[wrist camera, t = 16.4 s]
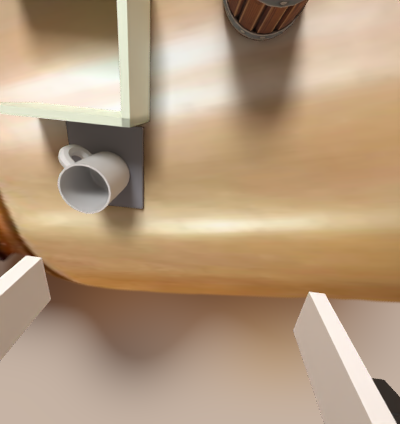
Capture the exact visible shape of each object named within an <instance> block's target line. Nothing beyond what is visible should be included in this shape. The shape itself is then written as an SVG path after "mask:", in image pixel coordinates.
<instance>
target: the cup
mask: <svg viewBox="0 0 400 424" xmlns="http://www.w3.org/2000/svg"><path fill="white" fill-rule="evenodd" d="M74 155H75V156H79V157H80V158H82V160H80V161H78V162H75V161H74V160H73V159H72V158H71V156H74ZM58 159H59V162H60V163H61V165H62V166H63V167H64V169H63V170H62V172H61V173H60V175H59V178H58V188H59V192H60V194H61V196H62V198H63V199H64V201H65V202H66V203H67V204H68V205H69V206H71V207H72V208H73V209H75V210H77V211H79V212H83V213H97V212H100V211H101V210H103V209H105V207H106V206H107V205H108V204H109V203H110V202H111V201H112V200H113V199H114V198H115V197H116V196H117V195H118V194H119V193H120V192H121V191H122V190H123V189H124V188H125V187H126V186H127V184H128V182H129V177H130V174H129V169H128V166H127V164H126V163H125V161H124V160H123V159H122V158H121V157H120V156H118V155H116V154H115V153H112V152H108V151H102V152H99V153H96V154H93V155H92V154H91V153H90V152H89V151H88V150H86V149H85V148H83V147H81V146H79V145H75V144H74V145H67V146H64V147H62V148H61V149H60V151H59V155H58Z"/></svg>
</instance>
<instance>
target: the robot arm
mask: <svg viewBox="0 0 400 424" xmlns="http://www.w3.org/2000/svg"><path fill="white" fill-rule="evenodd" d="M50 300H51V297H50V293H49V288H48V284H47V279H46V275H45V270H44V266H43V261H42V258H39V257H31V256H26V257H24V258H23V259H22V260H21V261H20V262H18V263H17V264H16V265H15V266H14V267H12V268H11V269H10V270H9V271H8V272H6V273H5V274H4V275H3V276H2V277H0V361H1V360H2V358H3V357H4V356H5V355H6V353H7V352H8V351H9V350H10V349H11V347H12V346H13V345H14V343H15V342H16V341H17V340H18V339H19V337H20V336H21V335H22V334H23V333H24V332H25V330H26V329H27V328H28V326H29V325H30V324H31V323H32V322H33V321H34V319H35V318H36V317H37V316H38V314H39V313H40V312H41V311H42V309H43V308H44V307H45V306H46V304H47V303H48V302H49V301H50ZM293 331H294V334H295V337H296V340H297V344H298V346H299V350H300V353H301V356H302V359H303V362H304V364H305V367H306V370H307V373H308V377H309V380H310V383H311V386H312V389H313V392H314V395H315V398H316V401H317V404H318V407H319V410H320V413H321V415H322V419H323V422H324V424H400V397H399V396H398V394H397V393H396V392H395V391H394V390H393V389H392V388H391V387H390V386H389V385H388V384H387V383H386V382H385V380H382V379H374V378H371V376H370V375H369V373H368V371H367V369H366V367H365V366H364V364H363V362H362V360H361V358H360V357H359V355H358V353H357V351H356V349H355V348H354V346H353V344H352V342H351V340H350V339H349V337H348V335H347V333H346V331H345V330H344V328H343V326H342V324H341V322H340V321H339V319H338V317H337V315H336V313H335V312H334V310H333V308H332V306H331V304H330V302H329V301H328V299H327V297H326V295H325V294H323V293H315V292H309V293H308V295H307V298H306V300H305V303H304V305H303V307H302V310H301V312H300V315H299V318H298V320H297V322H296V325H295V327H294V330H293Z"/></svg>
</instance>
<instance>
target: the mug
mask: <svg viewBox="0 0 400 424" xmlns="http://www.w3.org/2000/svg"><path fill="white" fill-rule="evenodd" d="M307 1H308V0H223V4H224V7H225V11H226V14H227V17H228V19H229V21H230V23H231V24H232V25H233V26H234V27H235V28H236V30H237V31H238V32H239V33H240V34H241V35H243V36H245V37H247V38H248V37H249V38H251V39H253V40H267V39H270V38H273V37H275V36H277V35H279V34H281V33H283V32H284V31H285V30H286V29H287V28H289V27H290V26H291V25H292V24H293V22H294V21H295V20H296V18H297V17H298V16H299V14H300V13H301V12H302V10H303V9H304V7H305V5H306V3H307Z"/></svg>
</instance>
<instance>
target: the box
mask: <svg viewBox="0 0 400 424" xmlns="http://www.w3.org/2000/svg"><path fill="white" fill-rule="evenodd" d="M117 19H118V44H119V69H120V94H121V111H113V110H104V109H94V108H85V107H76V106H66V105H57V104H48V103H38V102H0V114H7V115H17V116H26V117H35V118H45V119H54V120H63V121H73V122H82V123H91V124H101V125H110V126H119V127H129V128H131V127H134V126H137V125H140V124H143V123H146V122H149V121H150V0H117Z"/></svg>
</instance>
